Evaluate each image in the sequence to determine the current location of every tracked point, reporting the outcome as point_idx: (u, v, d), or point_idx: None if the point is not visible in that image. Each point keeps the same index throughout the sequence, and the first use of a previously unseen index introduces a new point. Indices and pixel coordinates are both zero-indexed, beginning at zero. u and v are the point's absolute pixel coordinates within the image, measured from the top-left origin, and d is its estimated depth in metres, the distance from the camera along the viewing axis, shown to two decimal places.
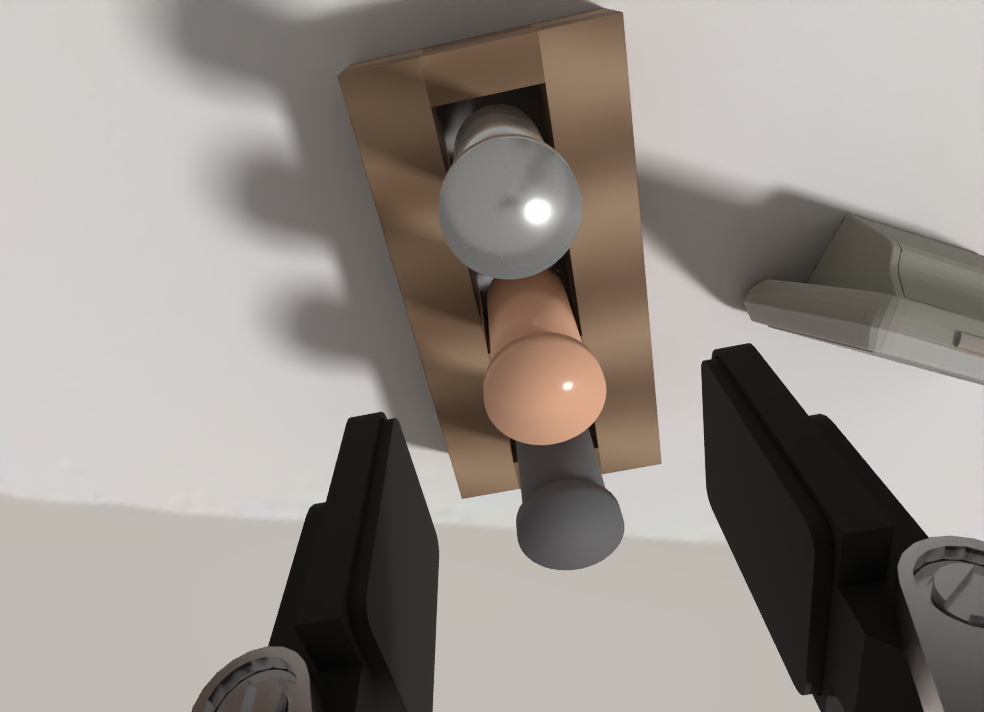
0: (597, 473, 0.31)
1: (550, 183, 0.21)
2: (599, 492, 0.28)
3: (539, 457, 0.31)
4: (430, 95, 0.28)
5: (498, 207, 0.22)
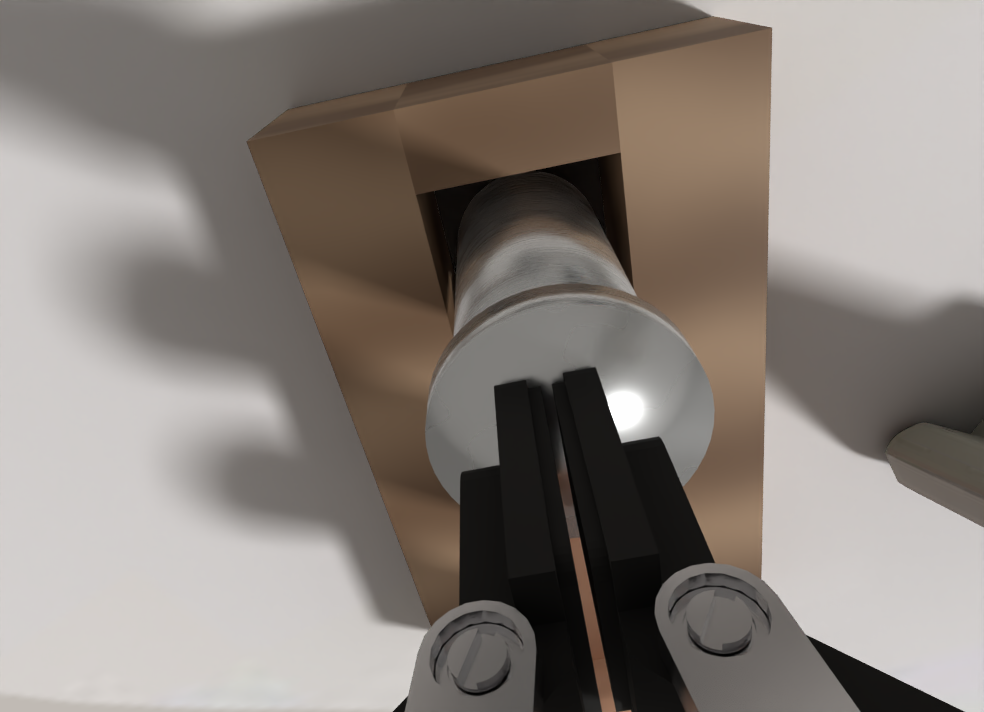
0: None
1: (654, 384, 0.10)
2: None
3: None
4: (415, 174, 0.16)
5: None
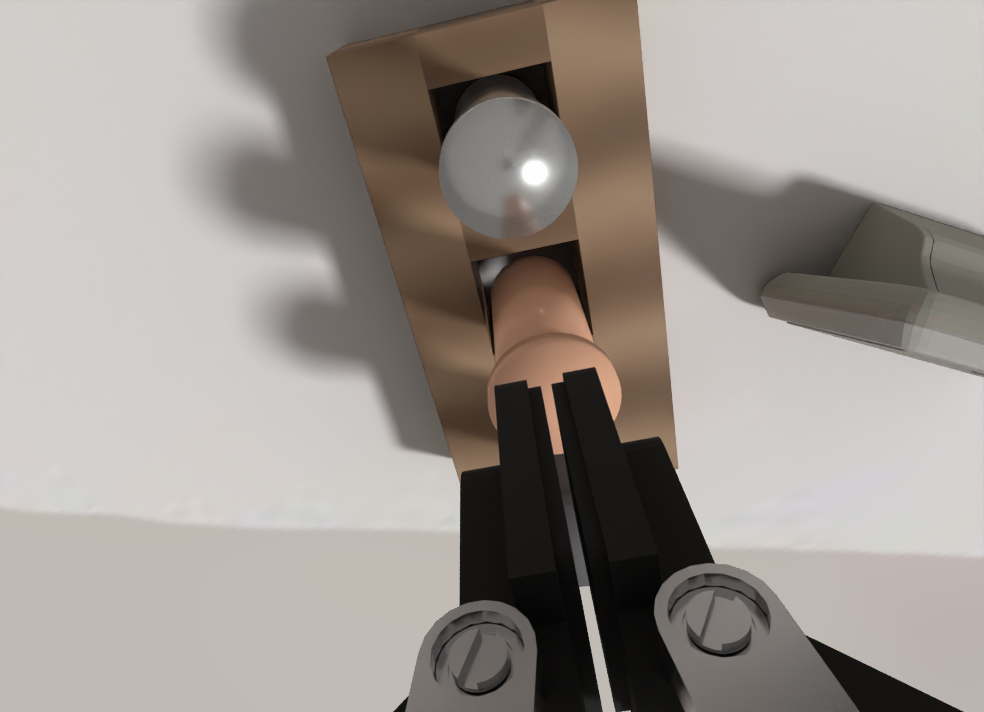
0: None
1: (546, 142, 0.22)
2: None
3: None
4: (426, 76, 0.26)
5: (497, 166, 0.22)
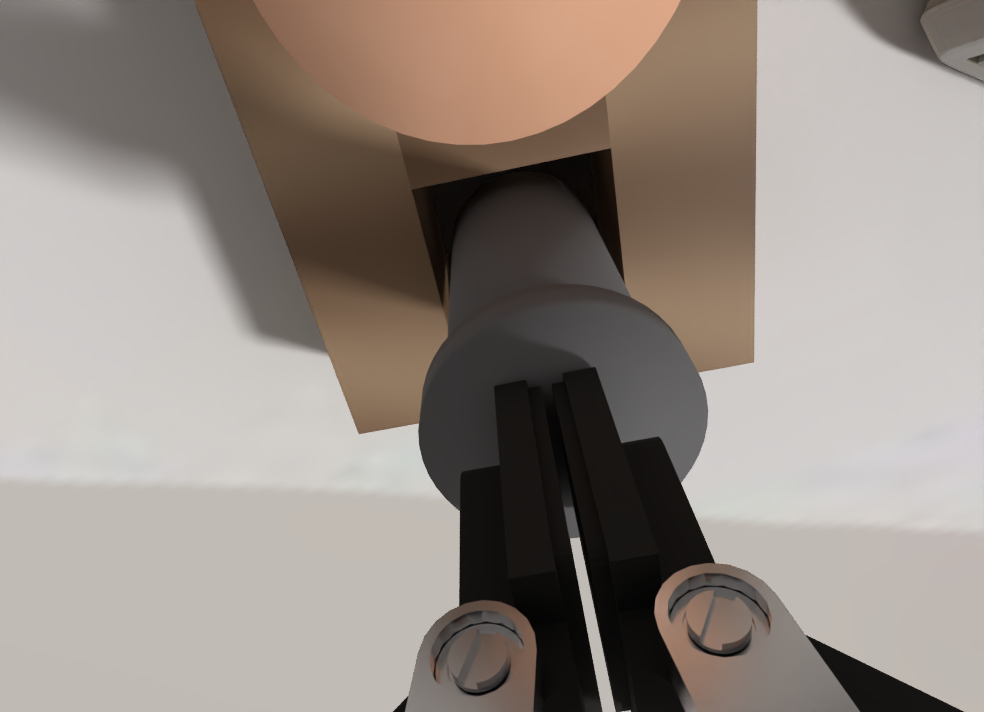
0: None
1: None
2: (642, 315, 0.10)
3: (488, 267, 0.13)
4: None
5: None
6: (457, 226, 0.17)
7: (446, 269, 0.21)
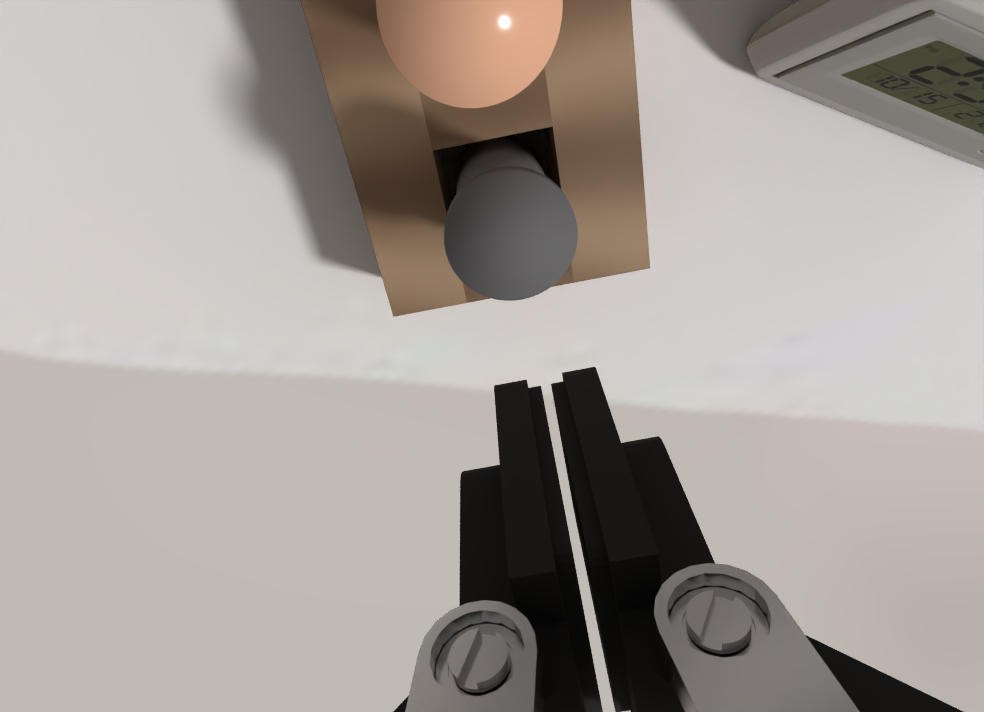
0: None
1: None
2: (544, 178, 0.23)
3: (477, 170, 0.25)
4: None
5: None
6: (460, 162, 0.30)
7: None
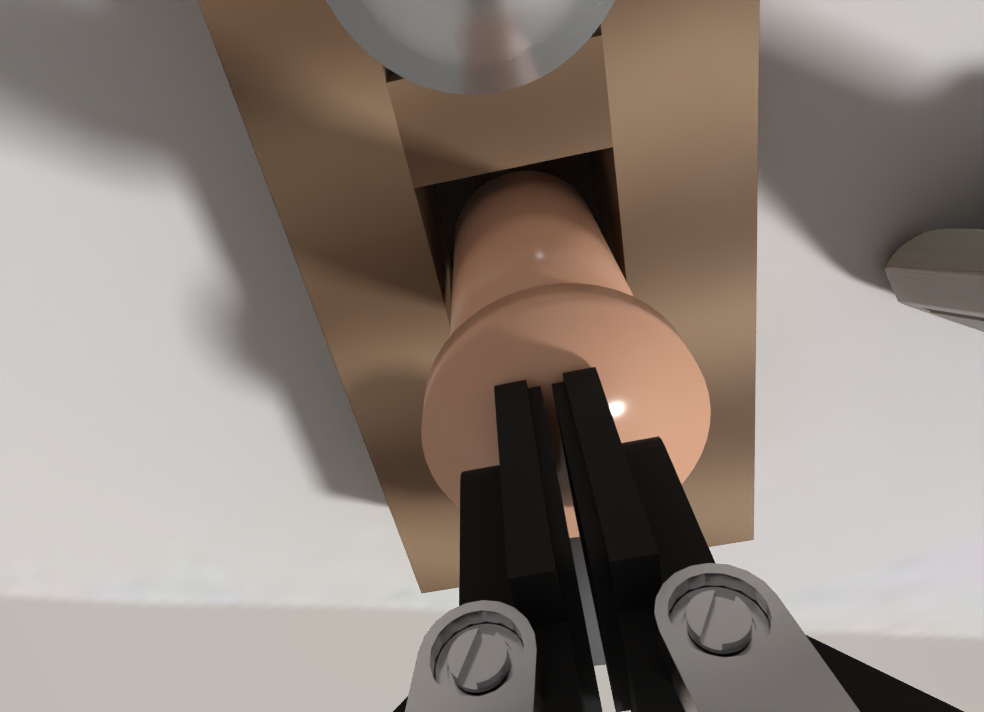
0: None
1: None
2: None
3: None
4: None
5: None
6: None
7: None
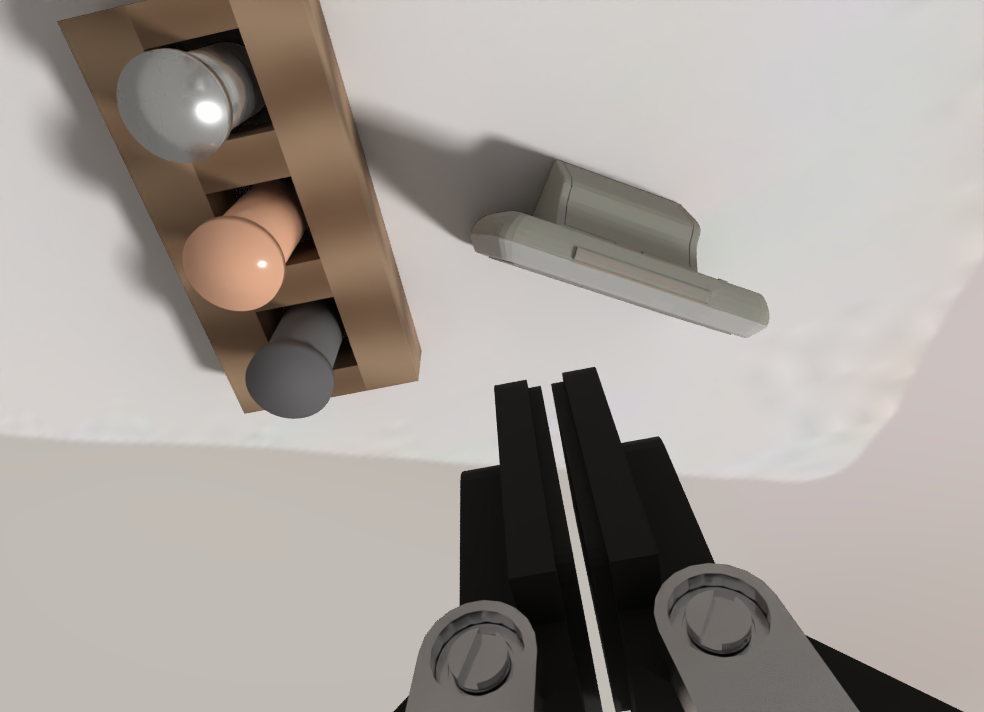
0: (321, 342, 0.38)
1: (196, 85, 0.29)
2: (304, 348, 0.36)
3: (278, 330, 0.39)
4: (141, 39, 0.33)
5: (162, 103, 0.29)
6: None
7: None
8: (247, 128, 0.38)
